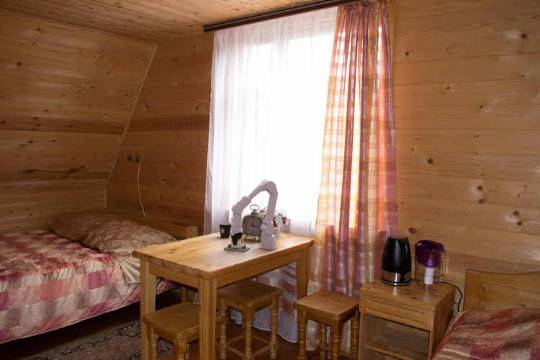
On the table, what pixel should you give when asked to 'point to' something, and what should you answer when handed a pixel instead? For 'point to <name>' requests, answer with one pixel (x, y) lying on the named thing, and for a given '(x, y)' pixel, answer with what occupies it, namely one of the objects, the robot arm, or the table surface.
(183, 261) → the table surface
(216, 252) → the table surface
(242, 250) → the board
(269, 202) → the robot arm
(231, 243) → the connector plug
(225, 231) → the coffee mug
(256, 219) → the tabletop clock
